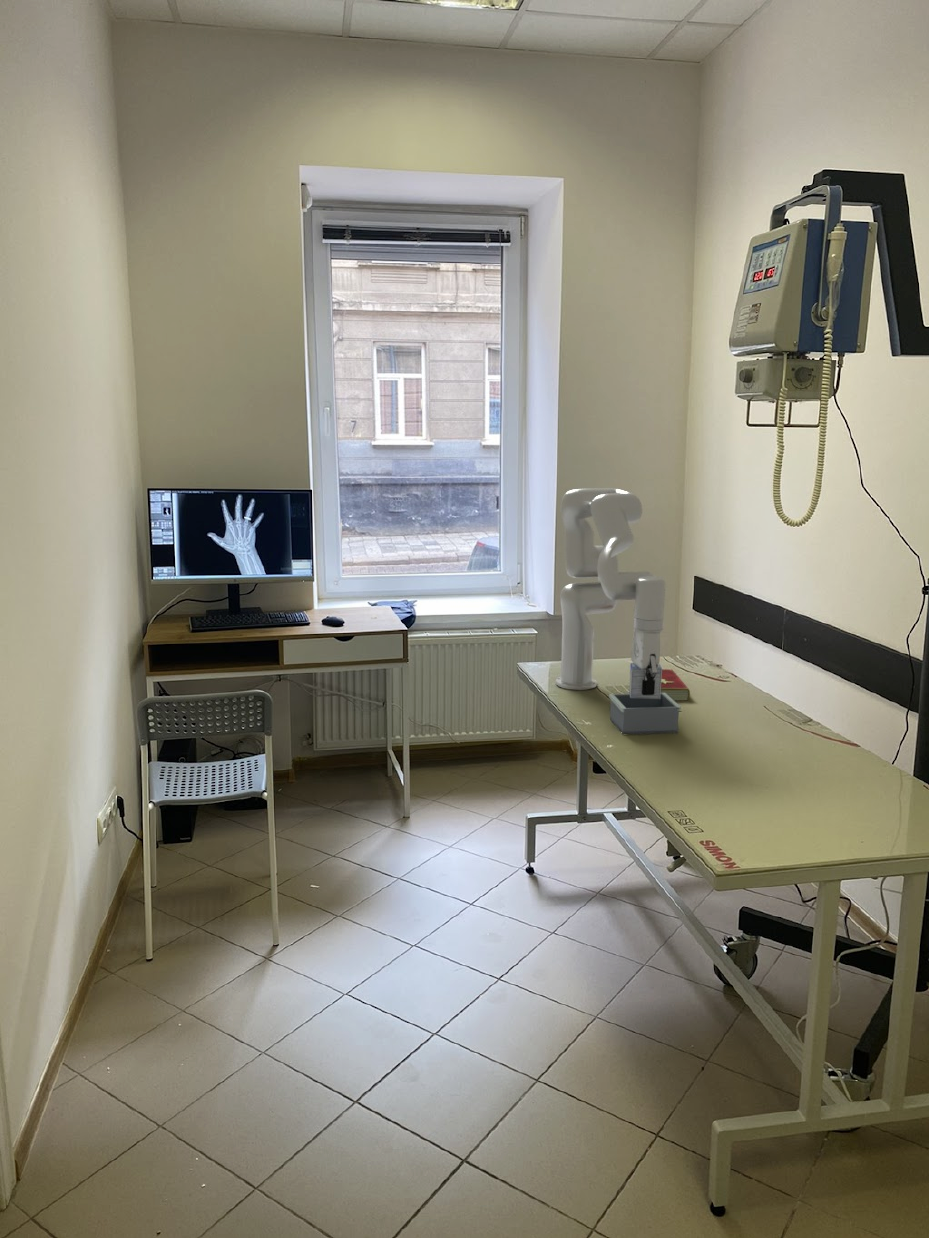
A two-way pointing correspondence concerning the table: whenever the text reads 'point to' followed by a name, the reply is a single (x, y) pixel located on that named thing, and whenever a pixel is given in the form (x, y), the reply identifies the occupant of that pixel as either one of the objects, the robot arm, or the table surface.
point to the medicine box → (636, 683)
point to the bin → (644, 714)
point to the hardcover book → (673, 686)
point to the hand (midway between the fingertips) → (644, 690)
